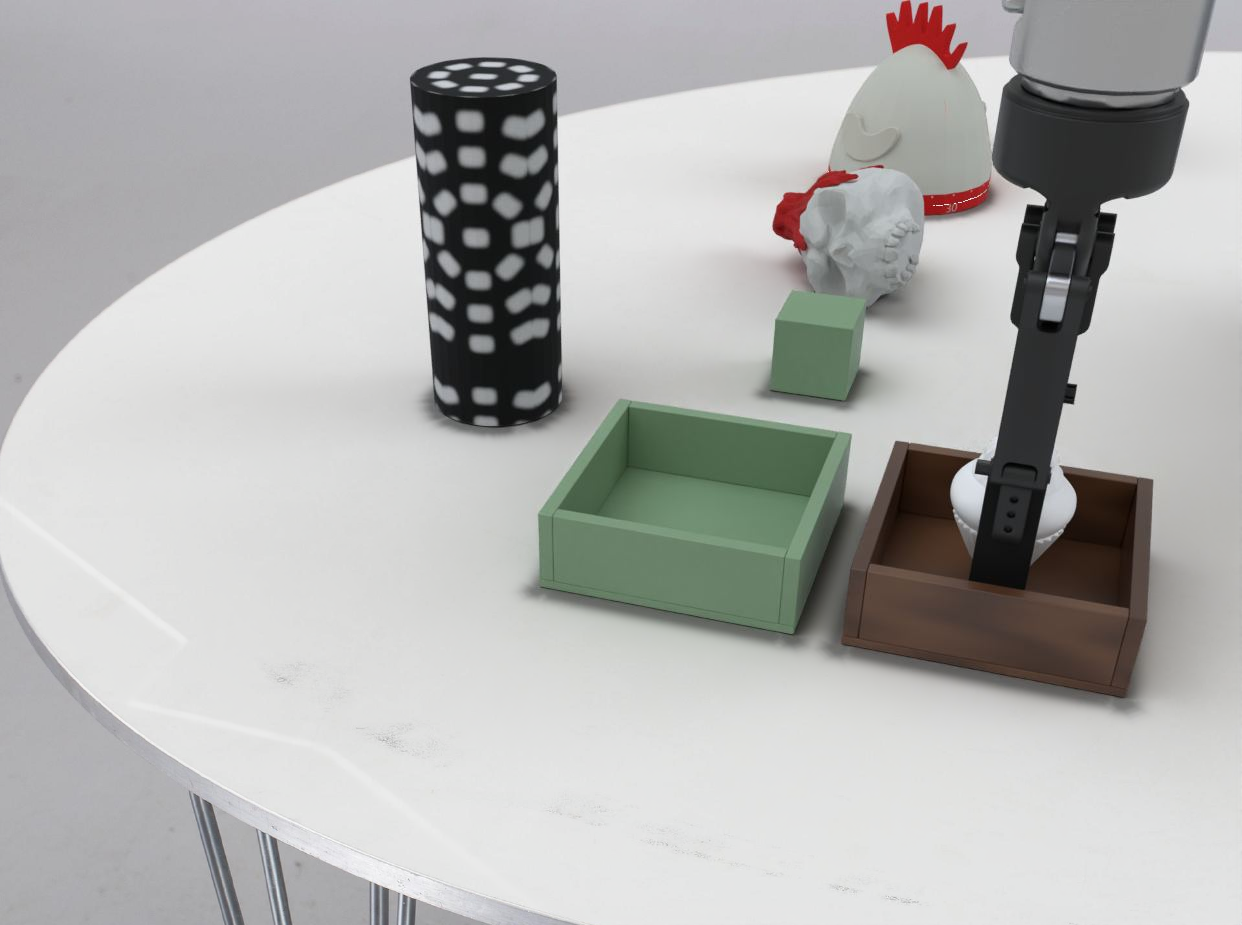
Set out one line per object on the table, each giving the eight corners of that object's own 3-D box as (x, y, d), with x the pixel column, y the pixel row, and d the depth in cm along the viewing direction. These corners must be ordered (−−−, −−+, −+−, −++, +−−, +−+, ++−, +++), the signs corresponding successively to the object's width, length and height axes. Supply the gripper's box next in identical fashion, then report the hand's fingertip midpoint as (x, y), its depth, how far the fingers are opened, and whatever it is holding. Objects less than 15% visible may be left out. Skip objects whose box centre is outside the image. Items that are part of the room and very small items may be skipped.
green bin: (843, 503, 82) (852, 433, 80) (793, 635, 72) (800, 559, 69) (618, 466, 86) (619, 397, 83) (539, 586, 75) (537, 513, 73)
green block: (859, 369, 96) (867, 298, 93) (845, 401, 93) (853, 329, 90) (786, 359, 98) (791, 289, 95) (769, 390, 94) (775, 318, 91)
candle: (890, 328, 100) (727, 294, 110) (979, 282, 107) (818, 253, 116) (892, 198, 96) (721, 174, 105) (985, 158, 102) (816, 139, 111)
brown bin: (1134, 550, 78) (1153, 478, 75) (1125, 698, 68) (1147, 620, 65) (885, 509, 82) (895, 439, 79) (840, 643, 71) (850, 568, 69)
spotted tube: (421, 422, 90) (393, 94, 78) (449, 365, 97) (428, 55, 85) (551, 430, 89) (543, 100, 77) (571, 372, 96) (567, 59, 84)
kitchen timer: (900, 151, 133) (922, -23, 124) (1020, 191, 125) (1053, 6, 116) (794, 183, 126) (809, 1, 117) (914, 227, 118) (940, 34, 109)
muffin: (1087, 560, 73) (1118, 438, 69) (1013, 603, 70) (1040, 478, 66) (989, 511, 77) (1012, 392, 73) (914, 550, 74) (934, 429, 69)
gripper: (1025, 21, 68) (952, 453, 81) (979, 139, 53) (900, 642, 67) (1193, 33, 66) (1089, 474, 79) (1193, 160, 51) (1066, 673, 65)
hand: (1003, 550), depth 73 cm, fingers closed on muffin, 6 cm apart
